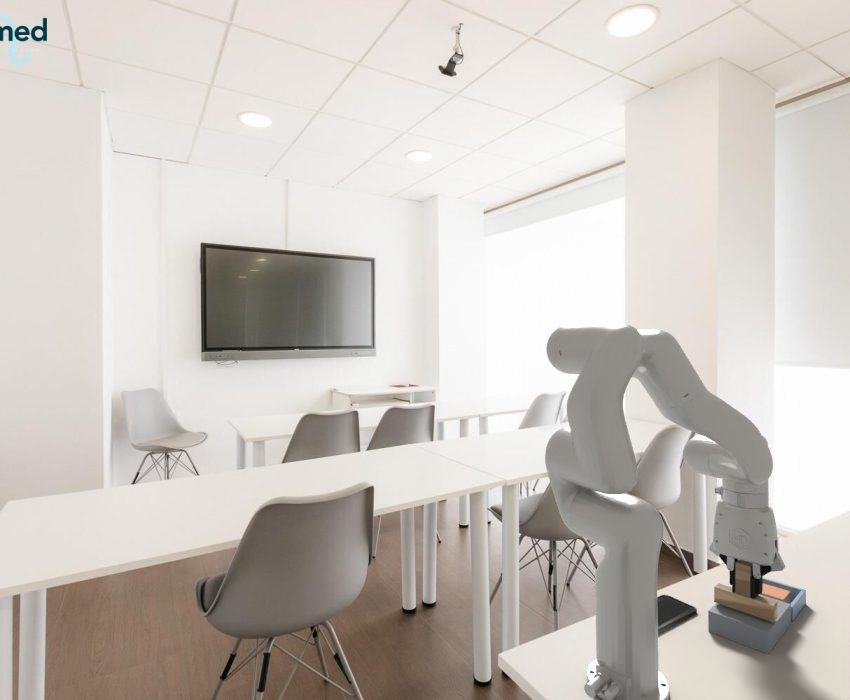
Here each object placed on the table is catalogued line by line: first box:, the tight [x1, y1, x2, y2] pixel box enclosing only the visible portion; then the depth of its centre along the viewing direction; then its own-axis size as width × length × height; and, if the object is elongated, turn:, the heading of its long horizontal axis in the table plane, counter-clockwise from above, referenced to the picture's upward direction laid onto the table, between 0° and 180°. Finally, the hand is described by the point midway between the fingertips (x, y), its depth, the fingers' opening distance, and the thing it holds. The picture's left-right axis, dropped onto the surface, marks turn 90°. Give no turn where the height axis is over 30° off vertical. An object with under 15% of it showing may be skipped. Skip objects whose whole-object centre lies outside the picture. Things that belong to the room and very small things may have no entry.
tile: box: [760, 583, 790, 603], centre depth 110 cm, size 5×5×2 cm
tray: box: [762, 576, 807, 623], centre depth 109 cm, size 10×10×3 cm
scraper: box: [713, 559, 777, 622], centre depth 99 cm, size 2×10×9 cm, turn 41°
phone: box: [657, 594, 698, 635], centre depth 106 cm, size 8×1×15 cm
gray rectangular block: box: [707, 594, 792, 655], centre depth 101 cm, size 14×10×4 cm
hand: (745, 592), depth 99 cm, fingers closed on scraper, 2 cm apart
